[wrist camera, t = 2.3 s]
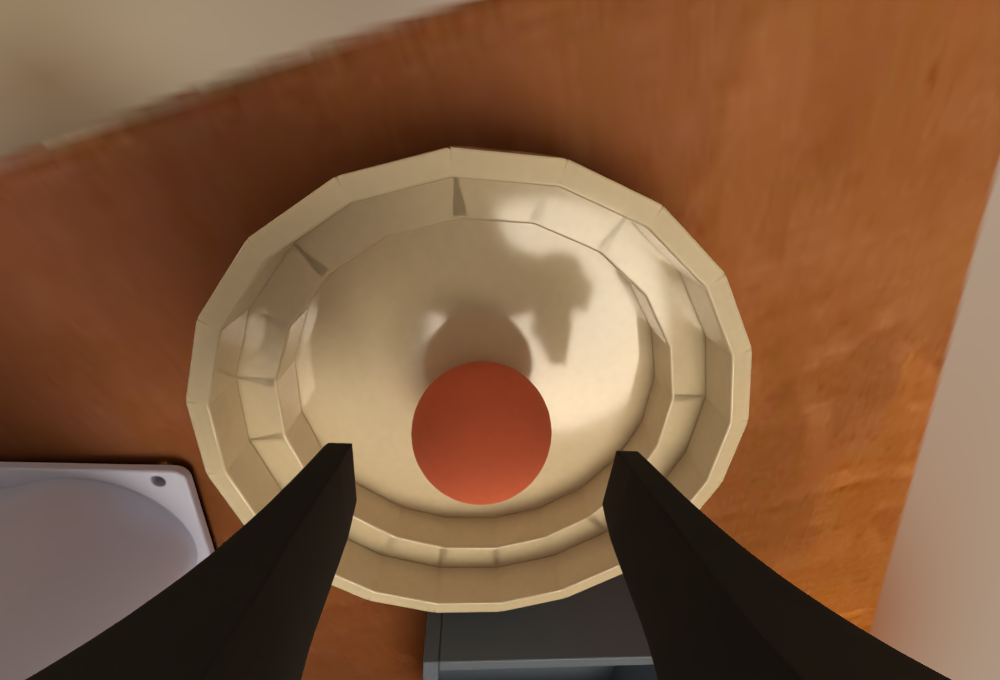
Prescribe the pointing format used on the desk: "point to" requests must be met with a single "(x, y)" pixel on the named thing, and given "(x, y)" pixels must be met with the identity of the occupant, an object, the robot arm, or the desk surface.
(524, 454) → the toy ball
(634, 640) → the bin
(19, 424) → the desk surface
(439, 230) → the bowl
